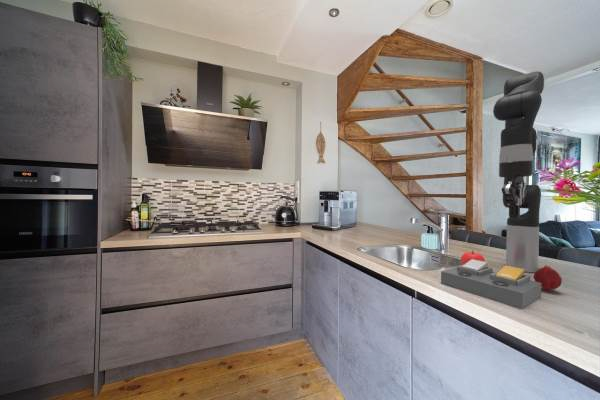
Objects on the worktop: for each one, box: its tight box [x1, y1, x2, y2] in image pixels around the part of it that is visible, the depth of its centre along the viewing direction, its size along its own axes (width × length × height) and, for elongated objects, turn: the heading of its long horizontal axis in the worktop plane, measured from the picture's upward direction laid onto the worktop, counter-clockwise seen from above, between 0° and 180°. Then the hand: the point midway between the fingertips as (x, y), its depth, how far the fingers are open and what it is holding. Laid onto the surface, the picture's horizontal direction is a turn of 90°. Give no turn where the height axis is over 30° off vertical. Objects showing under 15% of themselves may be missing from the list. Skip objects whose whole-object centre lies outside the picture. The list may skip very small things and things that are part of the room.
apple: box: [460, 250, 486, 266], centre depth 89 cm, size 8×8×8 cm
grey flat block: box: [440, 265, 542, 310], centre depth 71 cm, size 14×20×5 cm
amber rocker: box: [496, 264, 525, 281], centre depth 68 cm, size 7×4×1 cm, turn 121°
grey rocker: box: [462, 259, 489, 271], centre depth 76 cm, size 7×4×1 cm, turn 121°
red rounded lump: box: [533, 263, 563, 292], centre depth 71 cm, size 6×6×8 cm
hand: (514, 217), depth 72 cm, fingers closed
